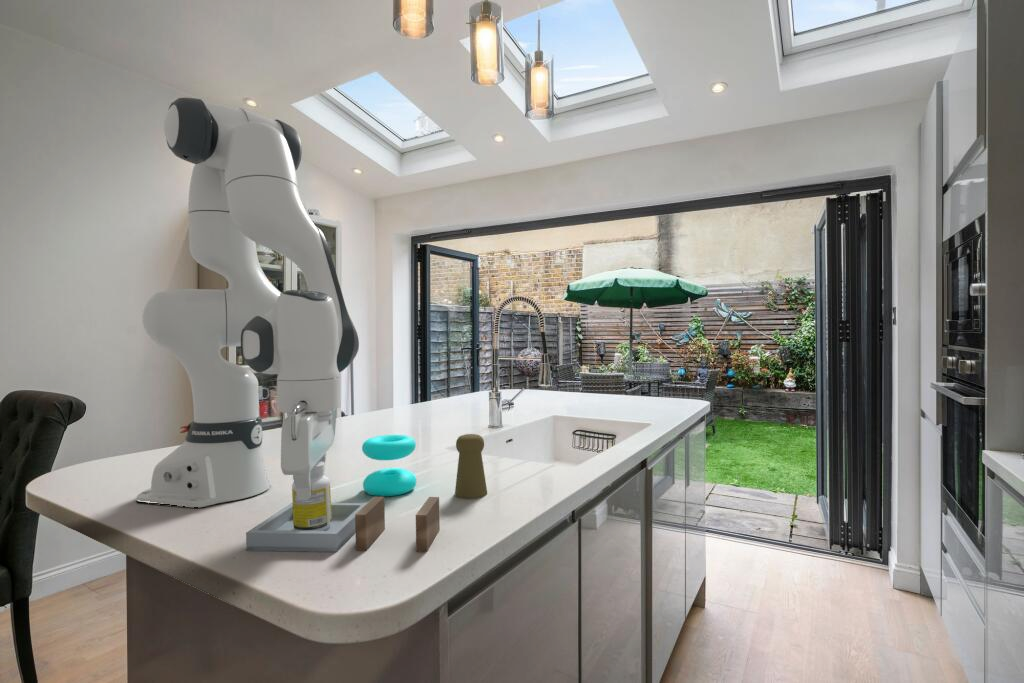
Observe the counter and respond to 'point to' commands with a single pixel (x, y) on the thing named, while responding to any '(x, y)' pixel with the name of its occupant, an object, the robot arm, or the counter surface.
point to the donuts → (392, 478)
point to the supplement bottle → (313, 503)
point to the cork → (470, 467)
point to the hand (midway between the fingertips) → (311, 489)
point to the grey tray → (282, 536)
